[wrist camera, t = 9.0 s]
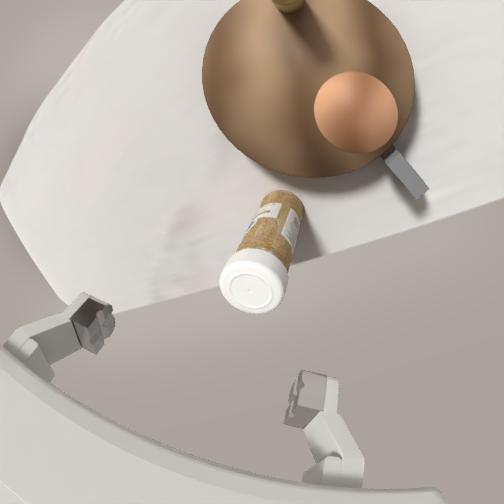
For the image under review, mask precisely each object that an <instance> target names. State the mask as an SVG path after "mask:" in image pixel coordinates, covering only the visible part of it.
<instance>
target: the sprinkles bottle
mask: <svg viewBox="0 0 504 504" xmlns="http://www.w3.org/2000/svg"><path fill="white" fill-rule="evenodd" d="M303 212H304V210H303V206H302V203H301V201H300V200H299V199H298V197H297V196H295V195H294V194H293V193H291V192H288V191H284V190H279V191H273V192H271V193H269V194H268V195H267V196H266V197H265V198H264V199H263V201H262V203H261V207H260V209H259V210H258V211H257V213H256V215H255V216H254V218H253V220H252V222H251V224H250V226H249V228H248V230H247V231H246V233H245V235H244V237H243V240H242V242H241V244H240V245H239V247H238V249H237V251H236V253H234V254H233V255H232V256H231V257H230V258H229V260H228V262H227V263H226V265H225V267H224V269H223V271H222V273H221V276H220V281H219V283H220V289H221V291H222V293H223V296H224V297H225V298H226V300H227V301H228V302H229V303H230V304H232V305H233V306H234V307H236V308H237V309H239V310H242V311H245V312H248V313H253V314H262V313H267V312H270V311H272V310H274V309H275V308H276V307H278V306H279V305H280V304H281V302H282V300H283V298H284V295H285V291H286V287H287V283H288V270H289V266H290V263H291V261H292V258H293V254H294V249H295V245H296V241H297V237H298V233H299V228H300V222H301V220H302V217H303Z"/></svg>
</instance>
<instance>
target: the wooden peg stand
mask: <svg viewBox="0 0 504 504" xmlns="http://www.w3.org/2000/svg"><path fill="white" fill-rule="evenodd" d="M202 83H203V89H204V95H205V99H206V102H207V105H208V108H209V110H210V112H211V115H212V117H213V119H214V120H215V122H216V124H217V125H218V127H219V129H220V130H221V131H222V133H223V134H224V135H225V136H226V138H227V139H228V140H229V141H230V142H231V143H232V144H233V145H234V146H235V147H236V148H237V149H238V150H240V151H241V152H242V153H244V154H245V155H246V156H247V157H249V158H251V159H252V160H254V161H255V162H257V163H259V164H261V165H263V166H265V167H267V168H269V169H272V170H275V171H278V172H281V173H284V174H288V175H293V176H299V177H309V178H314V177H329V176H337V175H340V174H344V173H348V172H351V171H353V170H356V169H358V168H361V167H363V166H365V165H366V164H368V163H370V162H372V161H373V160H375V159H376V158H377V157H379V156H380V155H381V154H383V153H384V152H385V151H386V150H387V149H388V148H389V147H390V146H391V145H392V144H393V143H394V141H395V140H396V139H397V137H398V136H399V135H400V133H401V132H402V130H403V128H404V126H405V124H406V122H407V120H408V117H409V115H410V112H411V109H412V104H413V99H414V88H415V80H414V70H413V65H412V61H411V57H410V54H409V52H408V49H407V47H406V44H405V42H404V41H403V39H402V37H401V35H400V33H399V32H398V30H397V29H396V28H395V26H394V25H393V24H392V22H391V21H390V20H389V19H388V18H387V17H386V16H385V15H384V14H383V13H382V12H381V11H380V10H379V9H378V8H377V7H375V6H374V5H373V4H371V3H370V2H369V1H367V0H240V1H239V2H238V3H236V4H235V5H234V6H233V7H232V8H231V9H230V10H229V11H228V12H227V13H226V14H225V15H224V16H223V17H222V18H221V20H220V21H219V22H218V24H217V25H216V27H215V29H214V30H213V32H212V34H211V36H210V38H209V41H208V43H207V46H206V50H205V54H204V58H203V66H202Z"/></svg>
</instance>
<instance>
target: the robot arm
mask: <svg viewBox="0 0 504 504" xmlns="http://www.w3.org/2000/svg"><path fill="white" fill-rule="evenodd" d="M112 311H113V309H112V305H110V304H108V303H106V302H104V301H102V300H99V299H97V298H95V297H93V296H91V295H89V294H87V293H85V292H83V293H80V294H79V295H78V296H77V297H76V298H75V300H74V301H73V302H72V303H71V304H70V305H69V306H68V307H67V308H66V309H65V310H64V311H63V313H62V314H56V315H53V316H50V317H47V318H44V319H42V320H39V321H36V322H33V323H31V324H28V325H25V326H23V327H20V328H18V329H17V330H16V331H15V332H14V333H13V334H12V336H11V337H10V338H9V339H8V340H7V341H6V342H5V344H4V345H3V346H1V345H0V504H449V503H448V501H447V500H446V498H445V497H444V495H443V494H442V493H441V492H440V490H439V489H437V488H435V487H427V488H409V489H365V488H362V484H363V473H364V461H365V459H364V457H363V456H362V454H361V452H360V450H359V448H358V446H357V444H356V443H355V441H354V439H353V437H352V435H351V433H350V432H349V430H348V428H347V426H346V424H345V422H344V421H343V419H342V417H341V415H339V414H337V406H338V391H339V379H338V378H335V377H330V376H326V375H322V374H318V373H314V372H309V371H305V370H301V372H300V373H299V376H298V379H297V380H295V382H294V384H293V386H292V388H291V391H290V395H289V400H288V401H289V403H290V405H289V407H288V408H287V410H286V414H285V419H284V424H286V425H290V426H294V427H298V428H303V431H304V433H305V436H306V439H307V441H308V444H309V447H310V449H311V452H312V454H313V457H314V460H315V462H316V465H315V466H313V467H312V468H310V469H309V470H307V471H305V472H304V473H303V477H302V482H297V481H291V480H285V479H280V478H275V477H269V476H265V475H260V474H256V473H252V472H248V471H244V470H240V469H237V468H233V467H229V466H226V465H222V464H219V463H216V462H213V461H209V460H206V459H203V458H200V457H197V456H194V455H192V454H188V453H186V452H183V451H181V450H177V449H175V448H173V447H170V446H168V445H165V444H163V443H160V442H158V441H156V440H153V439H151V438H149V437H146V436H144V435H142V434H139V433H138V432H135V431H133V430H131V429H129V428H127V427H125V426H123V425H121V424H119V423H117V422H115V421H113V420H111V419H109V418H107V417H105V416H104V415H102V414H100V413H98V412H96V411H94V410H93V409H91V408H89V407H88V406H86V405H84V404H82V403H81V402H79V401H77V400H75V399H74V398H73V397H71V396H69V395H68V394H66V393H65V392H63V391H62V390H60V389H58V388H57V387H55V386H54V385H53V384H51V383H50V382H51V380H52V379H53V377H54V372H53V370H52V368H51V367H50V365H51V364H53V363H55V362H57V361H59V360H61V359H62V358H64V357H66V356H68V355H70V354H72V353H74V352H75V351H77V350H79V349H81V347H82V348H84V349H86V350H88V351H90V352H92V353H94V354H96V355H97V353H98V352H99V350H100V349H101V348H102V346H103V345H104V339H106V338H108V337H110V335H111V334H112V332H113V330H114V327H115V318H114V317H113V315H112V314H111V313H112Z"/></svg>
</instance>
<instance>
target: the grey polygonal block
mask: <svg viewBox="0 0 504 504" xmlns="http://www.w3.org/2000/svg"><path fill="white" fill-rule="evenodd" d="M381 157H382V158H383V160H384V161H385V163H386V164H387V166H388V167H389V168H390V169H391V170H392V171H393V172H394V174H395V175H396V176H397V177H398V178H399V179H400V181H401V182H402V183H403V184H404V185H405V186H406V188H407V189H408V190H409V191H410V192H411V194H412V195H413V196H414V197H415V199H416V200H417V199H418V198H419V197H420V196H422V195H423V194H424V193H425V192H426V191H427V190H428V189H429V188H428V186H427V185H426V184H425V182H424V181H423V180H422V179H421V177H420V176H419V175H418V174H417V172H416V171H415V170H414V169H413V168H412V166H411V165H410V164H409V163H408V162H407V160H406V159H405V158H404V157H403V156H402V155H401V153H400V152H399V151H398V150H397V149H396V148H395V147H394V146H393V145H391V146H390V147H389V148H388V149H387V150H386V151H385V152H384V153H383V154H381Z"/></svg>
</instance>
